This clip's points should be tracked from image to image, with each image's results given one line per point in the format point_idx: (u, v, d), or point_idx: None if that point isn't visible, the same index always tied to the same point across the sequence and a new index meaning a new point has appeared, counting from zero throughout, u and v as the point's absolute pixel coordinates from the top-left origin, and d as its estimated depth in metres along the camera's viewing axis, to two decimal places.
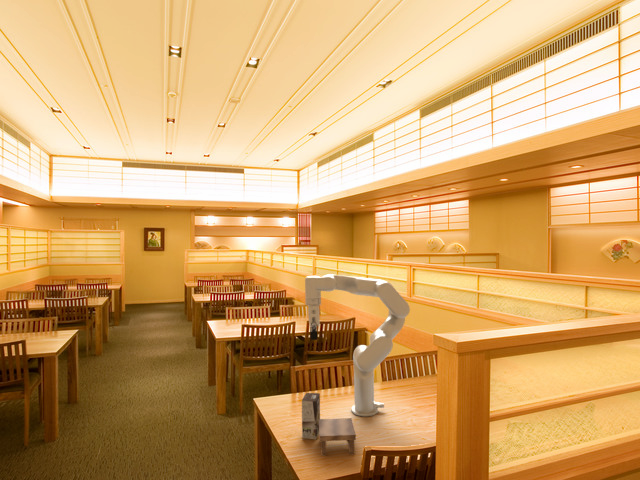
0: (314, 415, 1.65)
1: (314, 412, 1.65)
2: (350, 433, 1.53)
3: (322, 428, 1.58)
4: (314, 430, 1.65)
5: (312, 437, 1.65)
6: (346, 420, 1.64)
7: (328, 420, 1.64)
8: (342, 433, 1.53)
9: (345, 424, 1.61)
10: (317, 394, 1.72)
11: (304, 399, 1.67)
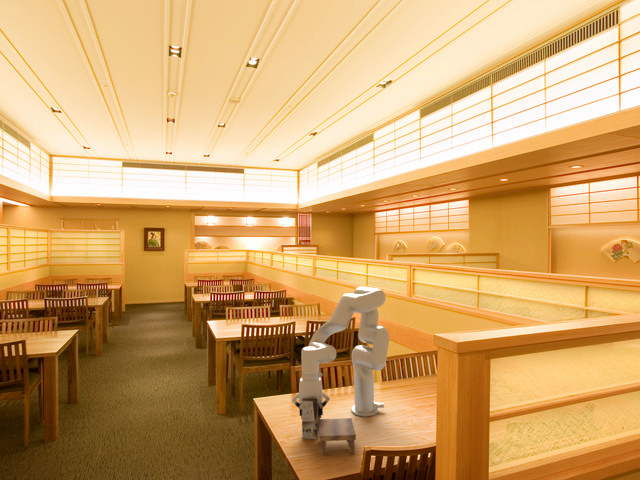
0: (314, 415, 1.65)
1: (314, 412, 1.65)
2: (350, 433, 1.53)
3: (322, 428, 1.58)
4: (314, 430, 1.65)
5: (312, 437, 1.65)
6: (346, 420, 1.64)
7: (328, 420, 1.64)
8: (342, 433, 1.53)
9: (345, 424, 1.61)
10: None
11: (304, 399, 1.67)
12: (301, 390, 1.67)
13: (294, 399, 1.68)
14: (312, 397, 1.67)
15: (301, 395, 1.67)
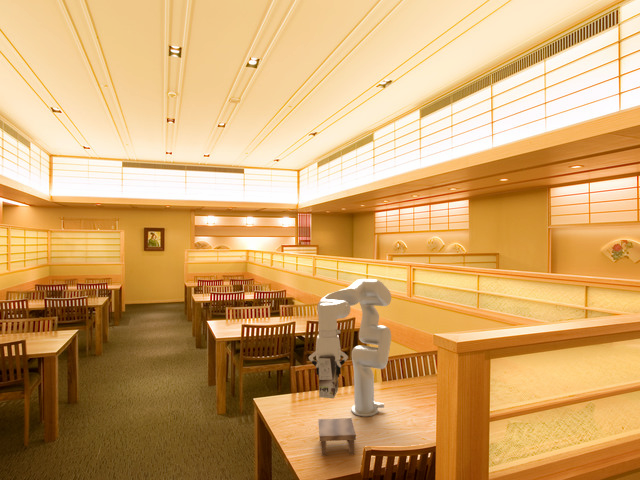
0: (332, 373, 1.56)
1: (332, 370, 1.56)
2: (350, 433, 1.53)
3: (322, 428, 1.58)
4: (332, 389, 1.56)
5: (330, 396, 1.57)
6: (346, 420, 1.64)
7: (328, 420, 1.64)
8: (342, 433, 1.53)
9: (345, 424, 1.61)
10: None
11: (321, 357, 1.59)
12: (318, 347, 1.59)
13: (311, 357, 1.61)
14: (330, 355, 1.59)
15: (318, 352, 1.59)
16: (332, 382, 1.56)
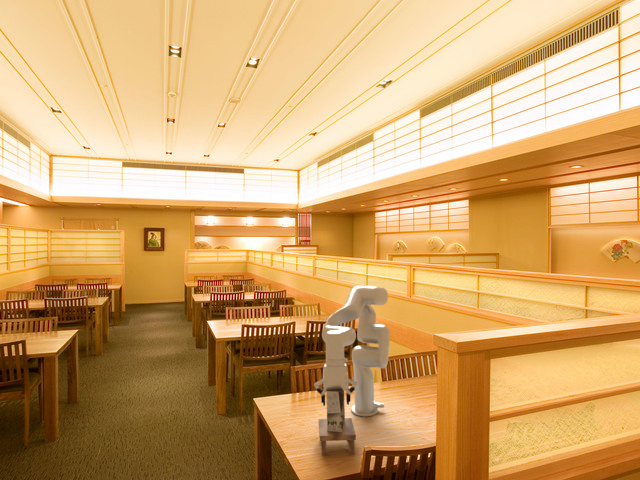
0: (340, 406, 1.54)
1: (340, 403, 1.54)
2: (350, 433, 1.53)
3: (322, 428, 1.58)
4: (340, 422, 1.54)
5: (338, 430, 1.54)
6: (346, 420, 1.64)
7: None
8: (342, 433, 1.53)
9: (345, 424, 1.61)
10: None
11: None
12: (325, 376, 1.56)
13: (316, 384, 1.58)
14: (337, 384, 1.56)
15: (325, 382, 1.56)
16: (340, 415, 1.54)
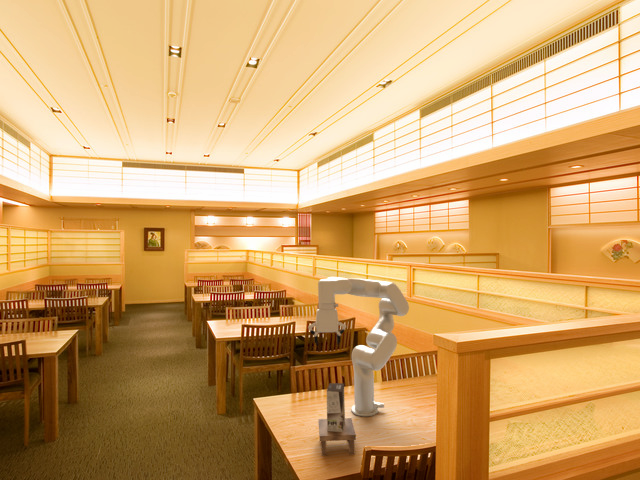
0: (340, 406, 1.54)
1: (340, 403, 1.54)
2: (350, 433, 1.53)
3: (322, 428, 1.58)
4: (340, 422, 1.54)
5: (338, 430, 1.54)
6: (346, 420, 1.64)
7: None
8: (342, 433, 1.53)
9: (345, 424, 1.61)
10: (342, 384, 1.61)
11: (329, 389, 1.56)
12: (318, 319, 1.75)
13: (310, 327, 1.76)
14: (328, 326, 1.75)
15: (318, 324, 1.75)
16: (340, 415, 1.54)
